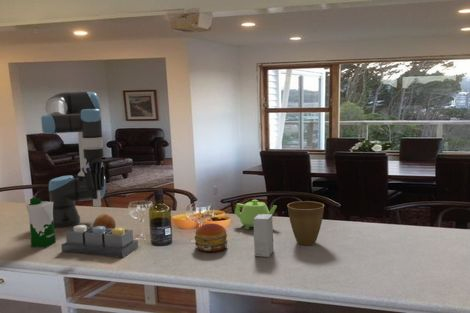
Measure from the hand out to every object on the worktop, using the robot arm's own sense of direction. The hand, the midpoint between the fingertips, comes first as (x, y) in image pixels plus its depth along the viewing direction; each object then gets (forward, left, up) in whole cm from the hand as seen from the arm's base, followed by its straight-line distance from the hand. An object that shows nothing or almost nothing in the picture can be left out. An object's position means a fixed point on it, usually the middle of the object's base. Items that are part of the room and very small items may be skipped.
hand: (97, 206), depth 177 cm
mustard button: (0, +9, -14) cm, 17 cm away
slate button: (0, 0, -14) cm, 14 cm away
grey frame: (0, 0, -18) cm, 18 cm away
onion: (-17, -9, -19) cm, 27 cm away
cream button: (0, -9, -14) cm, 17 cm away
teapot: (-45, +54, -19) cm, 73 cm away
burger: (-12, +44, -19) cm, 49 cm away
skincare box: (-11, +66, -19) cm, 69 cm away
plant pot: (-27, +80, -19) cm, 86 cm away
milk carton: (0, -28, -19) cm, 33 cm away
